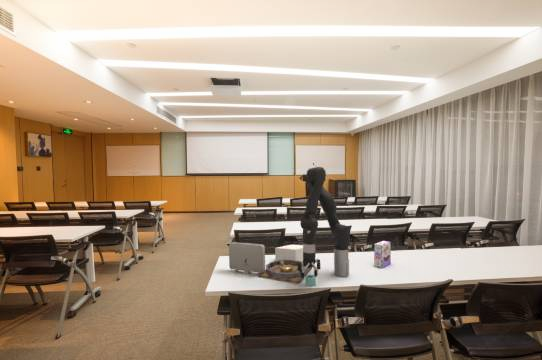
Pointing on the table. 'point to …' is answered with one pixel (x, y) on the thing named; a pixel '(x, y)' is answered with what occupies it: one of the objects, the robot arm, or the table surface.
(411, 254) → the table surface
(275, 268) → the carrier plate
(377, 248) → the candy box
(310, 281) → the teal short hollow cylinder
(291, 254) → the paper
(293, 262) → the ring gear
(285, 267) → the sun gear
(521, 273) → the table surface
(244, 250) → the network device
